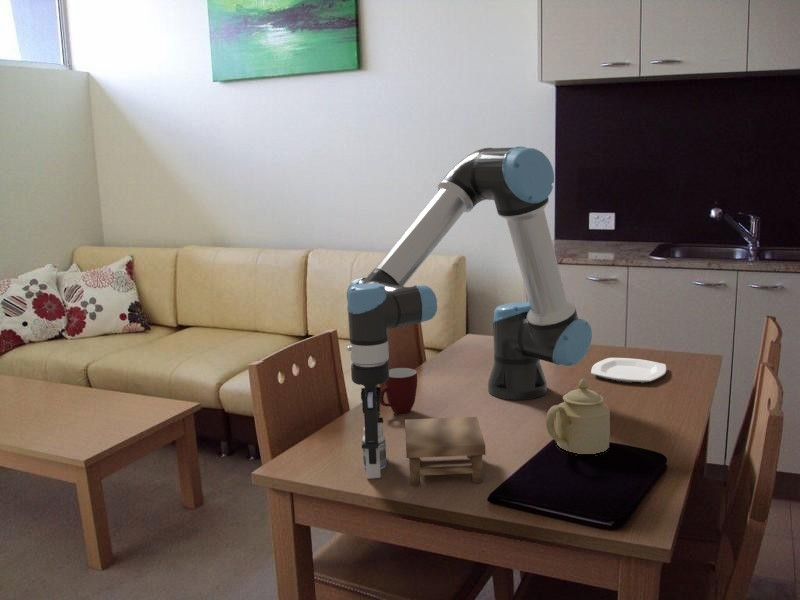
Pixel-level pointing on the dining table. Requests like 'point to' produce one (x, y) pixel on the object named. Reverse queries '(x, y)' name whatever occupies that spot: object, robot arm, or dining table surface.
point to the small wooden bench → (444, 445)
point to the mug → (400, 390)
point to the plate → (628, 369)
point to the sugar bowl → (580, 422)
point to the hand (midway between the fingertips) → (374, 465)
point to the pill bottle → (381, 447)
